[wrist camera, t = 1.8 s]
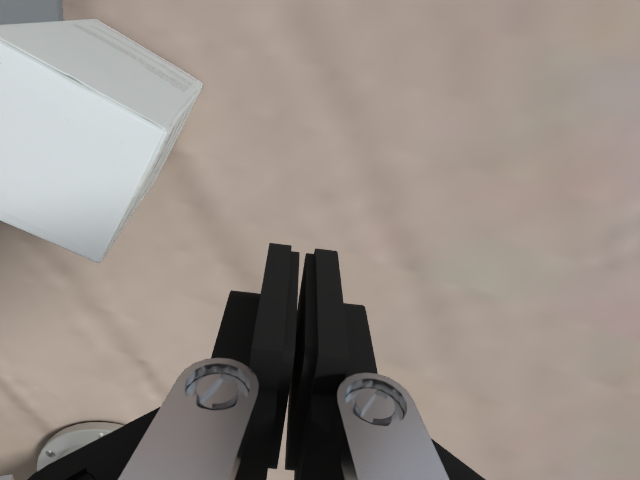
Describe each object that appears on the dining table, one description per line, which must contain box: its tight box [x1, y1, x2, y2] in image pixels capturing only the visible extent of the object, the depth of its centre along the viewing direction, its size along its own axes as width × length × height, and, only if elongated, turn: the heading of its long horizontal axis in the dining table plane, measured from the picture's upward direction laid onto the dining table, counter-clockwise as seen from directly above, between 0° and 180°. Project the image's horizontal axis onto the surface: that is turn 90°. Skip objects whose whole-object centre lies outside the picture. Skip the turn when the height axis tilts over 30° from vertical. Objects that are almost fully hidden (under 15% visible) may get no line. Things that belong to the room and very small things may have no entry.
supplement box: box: [0, 19, 203, 263], centre depth 24 cm, size 7×7×13 cm
